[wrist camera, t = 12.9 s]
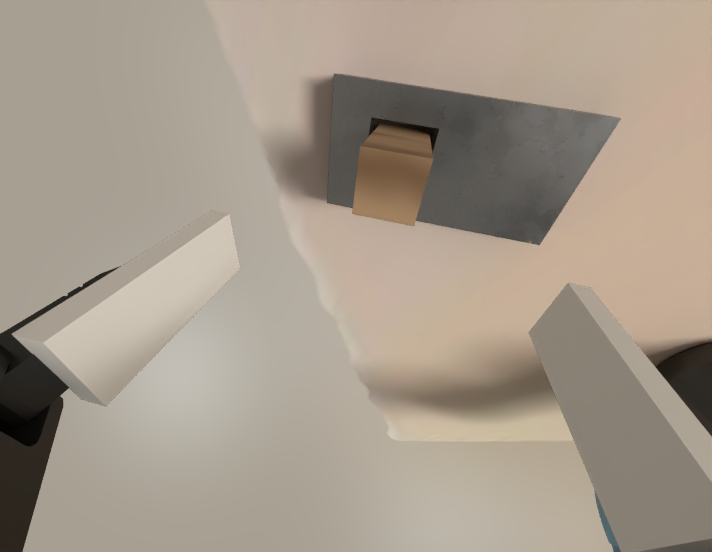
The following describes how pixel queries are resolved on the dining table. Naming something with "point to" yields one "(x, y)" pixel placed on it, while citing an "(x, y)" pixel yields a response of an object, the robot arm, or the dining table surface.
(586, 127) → the steel rail
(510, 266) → the dining table surface
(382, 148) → the walnut block
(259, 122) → the dining table surface
